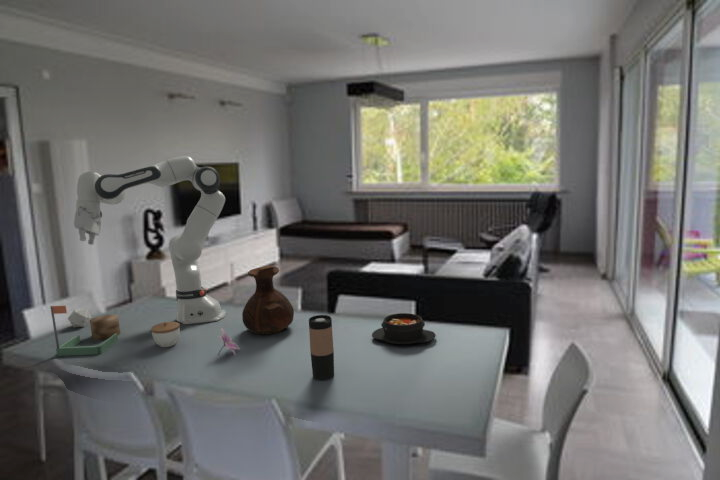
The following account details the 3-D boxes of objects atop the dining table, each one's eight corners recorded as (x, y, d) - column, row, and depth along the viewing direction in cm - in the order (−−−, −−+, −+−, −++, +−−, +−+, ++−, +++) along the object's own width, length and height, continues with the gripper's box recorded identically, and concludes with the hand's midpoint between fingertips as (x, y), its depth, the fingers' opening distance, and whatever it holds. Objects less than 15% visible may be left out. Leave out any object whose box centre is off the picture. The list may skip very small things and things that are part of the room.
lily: (223, 364, 184) (234, 342, 184) (202, 349, 188) (212, 328, 188) (240, 361, 194) (250, 341, 194) (219, 347, 198) (229, 327, 198)
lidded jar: (187, 341, 206) (184, 319, 205) (167, 351, 197) (164, 328, 195) (167, 338, 211) (165, 316, 209) (147, 347, 201) (144, 325, 199)
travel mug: (312, 371, 172) (308, 315, 168) (334, 370, 172) (331, 314, 169) (312, 381, 164) (308, 323, 161) (335, 380, 165) (332, 321, 161)
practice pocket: (118, 340, 211) (111, 294, 207) (100, 354, 197) (93, 304, 193) (78, 341, 211) (71, 295, 208) (57, 355, 197) (49, 306, 193)
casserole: (439, 333, 202) (438, 313, 201) (431, 351, 185) (430, 329, 183) (379, 329, 210) (378, 309, 208) (366, 346, 192) (365, 325, 191)
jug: (232, 336, 209) (225, 266, 204) (261, 319, 229) (255, 255, 224) (277, 341, 201) (272, 268, 196) (303, 323, 221) (299, 256, 215)
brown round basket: (125, 330, 223) (122, 314, 222) (112, 339, 212) (110, 322, 211) (100, 331, 223) (98, 315, 222) (87, 340, 213) (84, 323, 211)
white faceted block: (76, 331, 226) (88, 312, 228) (60, 322, 227) (73, 303, 228) (86, 332, 234) (98, 313, 236) (71, 322, 235) (82, 304, 237)
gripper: (87, 204, 202) (86, 238, 200) (103, 215, 222) (102, 246, 220) (70, 204, 201) (69, 238, 199) (88, 215, 221) (87, 246, 219)
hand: (86, 242), depth 210 cm, fingers open, 8 cm apart
